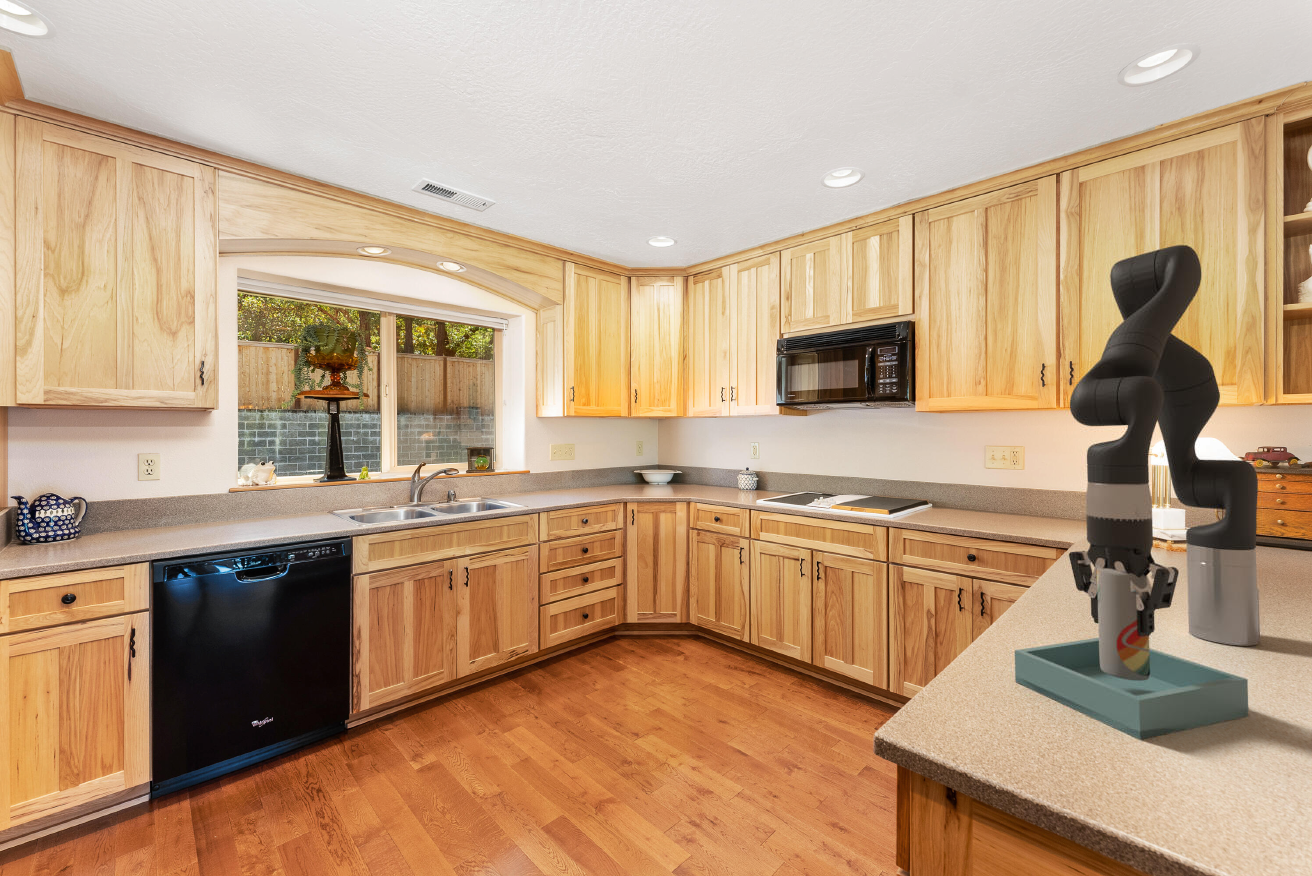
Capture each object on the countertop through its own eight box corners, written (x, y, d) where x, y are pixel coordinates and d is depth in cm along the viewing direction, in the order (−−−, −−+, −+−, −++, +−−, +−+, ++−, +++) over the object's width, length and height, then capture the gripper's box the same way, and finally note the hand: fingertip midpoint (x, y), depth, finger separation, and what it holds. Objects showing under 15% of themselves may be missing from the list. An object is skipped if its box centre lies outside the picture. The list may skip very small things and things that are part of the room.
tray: (1110, 665, 94) (1109, 635, 94) (1248, 715, 77) (1247, 678, 77) (1015, 681, 89) (1014, 650, 89) (1140, 739, 71) (1139, 700, 72)
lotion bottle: (1160, 682, 79) (1155, 540, 79) (1114, 680, 80) (1109, 539, 80) (1134, 666, 85) (1130, 533, 85) (1091, 664, 86) (1087, 533, 86)
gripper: (1194, 518, 77) (1197, 642, 77) (1088, 506, 91) (1091, 612, 91) (1153, 521, 75) (1157, 649, 75) (1052, 509, 89) (1055, 617, 89)
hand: (1121, 628), depth 83 cm, fingers closed on lotion bottle, 5 cm apart
